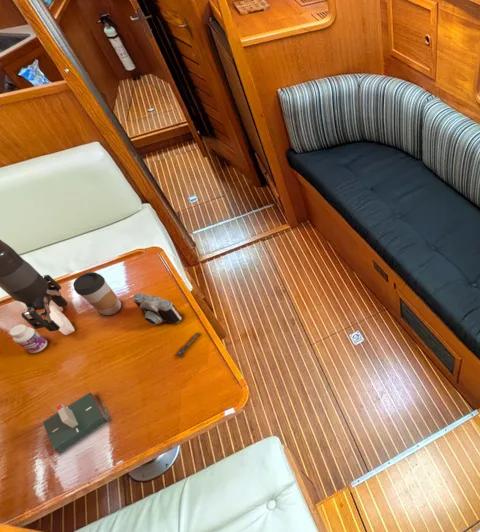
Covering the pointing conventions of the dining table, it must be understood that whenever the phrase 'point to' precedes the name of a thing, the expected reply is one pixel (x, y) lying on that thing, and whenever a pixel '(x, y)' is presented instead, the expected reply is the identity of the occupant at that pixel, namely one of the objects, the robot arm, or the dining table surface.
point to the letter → (60, 318)
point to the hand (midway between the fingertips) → (60, 317)
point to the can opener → (188, 344)
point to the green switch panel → (86, 417)
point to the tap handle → (67, 416)
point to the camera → (157, 309)
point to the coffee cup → (97, 293)
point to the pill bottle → (28, 338)
